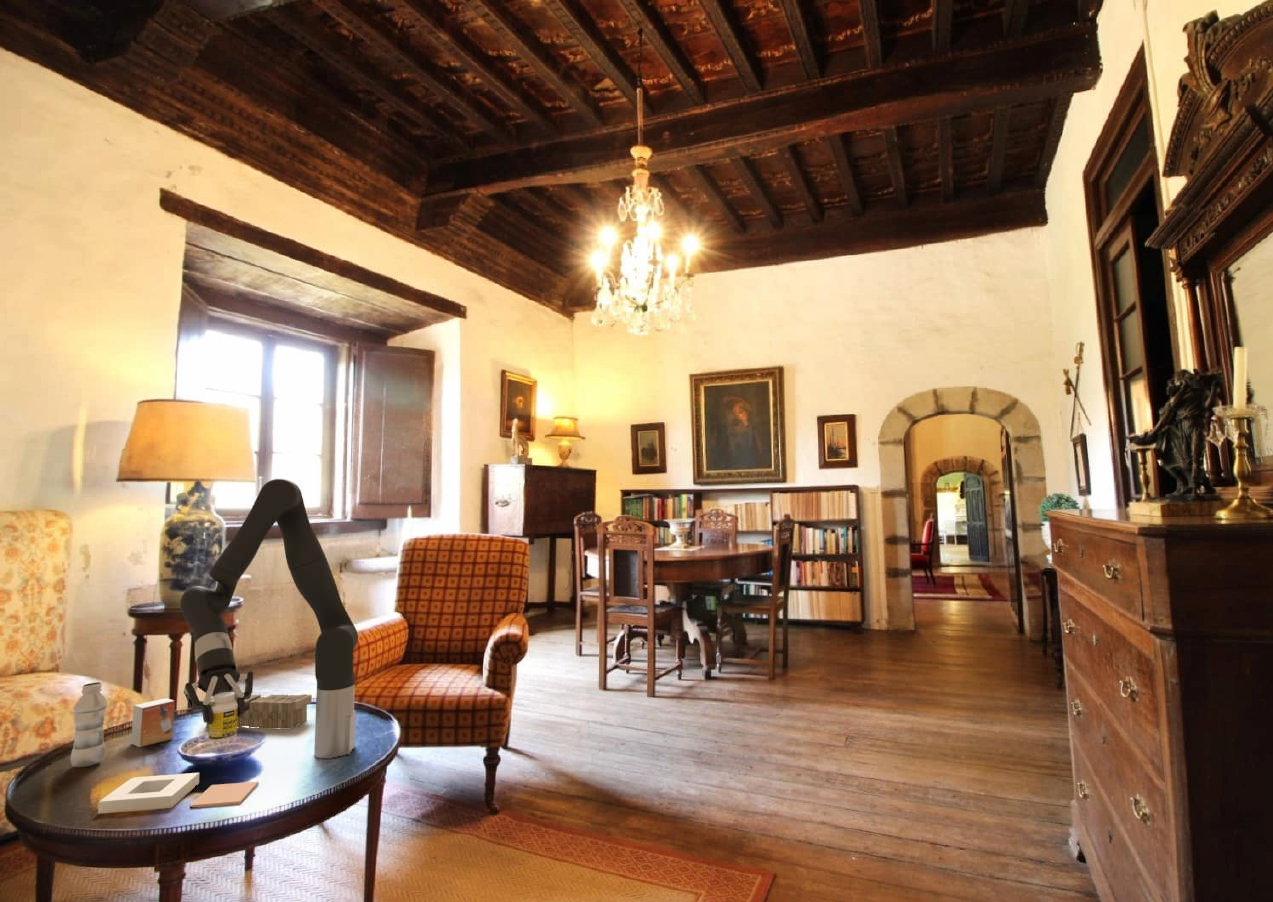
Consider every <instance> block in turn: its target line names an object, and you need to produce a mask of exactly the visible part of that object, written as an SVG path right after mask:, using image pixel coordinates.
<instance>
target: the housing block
mask: <svg viewBox="0 0 1273 902" xmlns="http://www.w3.org/2000/svg"><path fill="white" fill-rule="evenodd" d="M199 784H200V772H191V773H176V774H162V775H150V776H149V775H147V776H135V777H131V778H130V779H128V780H126V782H124V783H123V784H121V785H120V786H119V787H117V788H115V789H114V790H113V791H112V792H110V793H109V794H107V795H106V796H104V797H103V798H102V799H100V800H99V801H98V812H97V814H98V815H99V814H111V813H123V812H135V811H137V812H138V811H148V810H149V811H150V810H160V809H162V810H163V809H171V808H173V807H174V806H175V805H176V804H177V803H178V802H180V801H181V800H182V799H183V798H184V797H185V796H186V795H188V794H189V793H190V792H191V791H192V790H193V789H195V786H196V785H197V786H198V785H199ZM197 786H196V787H197Z"/></svg>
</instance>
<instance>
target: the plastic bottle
mask: <svg viewBox="0 0 1273 902" xmlns="http://www.w3.org/2000/svg"><path fill="white" fill-rule="evenodd" d="M102 687H103V682H101V681H100V682H99V681H98V682H96V681H95V682H90V683H85V684H83V685H82V688H81V689H82V690H81V694H82V695H81V696H80V698H78V700H77V701H76V703H75V704H74V706H73V718H74V730H75V731H74V740H73V748H72V750H71V752H70V753H71V754H70V758H69V760H70V764H71V765H72V766H73V767H74V768H85V767H90V766H94V765H96V764H99V763H100V762H102V760H103V759H104V758H105V754H106V746H105V741H104V724H105V723H104V722H105V717H106V712H107V709H108V708H107V707H108V700H107V698H106V697H105V696H104V695H103V694H102V693H101V691H103V688H102Z"/></svg>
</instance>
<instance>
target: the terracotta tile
mask: <svg viewBox="0 0 1273 902" xmlns="http://www.w3.org/2000/svg"><path fill="white" fill-rule="evenodd" d="M258 785H259V781H249V782H235V783H234V782H233V783H224V784H221V783H220V784H211V785H209V787H208V788H207V789H205V791H204V792H202V793H201V794H200V795H199V796H198V797H197V798H196V799H195V800H194V801H193V802H192V803H191V804H189V808H190V807H198V808H207V807H219V806H220V807H221V806H222V807H223V806H230V805H231V804H234V805H241V804H242V803H241V802H244V800H245V799H246V798H247V797H248V796H249V795H250V794H251V793H252V792H253V790H255V788H256V787H257V786H258ZM240 803H241V804H240ZM231 806H232V805H231Z"/></svg>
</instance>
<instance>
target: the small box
mask: <svg viewBox="0 0 1273 902" xmlns="http://www.w3.org/2000/svg"><path fill="white" fill-rule="evenodd" d="M175 703H176V702H175V700H173V699H170V698H167V697H164V698H161V699H157V700H152V701H148V702H143V703H138V704H133V710H132V711H133V712H132V723H131V725H132V726H131V736H130V737H131V738H130V739H131V740H130V744H131V745H133V746H136V747H138V748H142V747H145V746H150V745H153V744H157V743H161V742H166V741H170V740H173V737H174V736H173V735H174V722H175V720H174V719H175ZM169 739H170V740H169Z"/></svg>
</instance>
